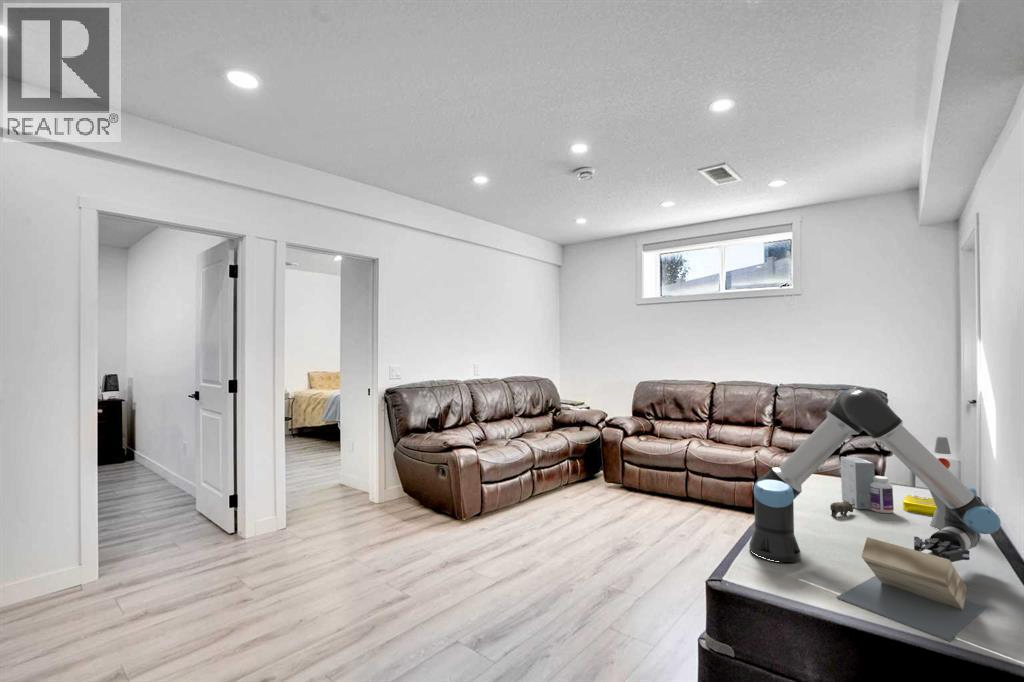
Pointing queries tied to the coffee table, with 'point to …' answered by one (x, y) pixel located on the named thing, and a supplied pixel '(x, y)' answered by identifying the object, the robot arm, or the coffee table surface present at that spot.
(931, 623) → the slate mat
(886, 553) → the birch slab
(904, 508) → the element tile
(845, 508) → the bison figurine
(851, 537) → the coffee table surface
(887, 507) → the pill bottle
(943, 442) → the lava lamp
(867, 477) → the hard drive box
